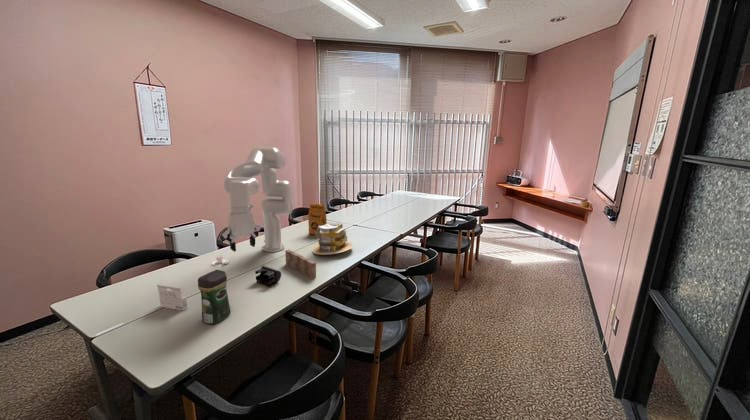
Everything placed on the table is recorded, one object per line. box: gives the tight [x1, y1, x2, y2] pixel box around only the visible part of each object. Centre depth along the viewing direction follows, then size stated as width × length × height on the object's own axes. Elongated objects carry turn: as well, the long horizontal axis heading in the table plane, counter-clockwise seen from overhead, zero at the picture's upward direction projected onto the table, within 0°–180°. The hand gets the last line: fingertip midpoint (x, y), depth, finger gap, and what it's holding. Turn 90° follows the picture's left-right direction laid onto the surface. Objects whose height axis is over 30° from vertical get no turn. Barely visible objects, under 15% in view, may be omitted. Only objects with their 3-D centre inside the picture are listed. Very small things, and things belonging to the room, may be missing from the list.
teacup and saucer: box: [211, 254, 230, 267], centre depth 166 cm, size 9×8×4 cm
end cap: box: [254, 265, 282, 288], centre depth 147 cm, size 10×7×7 cm
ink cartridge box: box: [156, 284, 188, 311], centre depth 123 cm, size 2×11×10 cm, turn 77°
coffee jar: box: [197, 269, 231, 325], centre depth 117 cm, size 10×8×19 cm
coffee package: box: [307, 202, 328, 236], centre depth 216 cm, size 10×12×22 cm
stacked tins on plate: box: [311, 222, 354, 256], centre depth 188 cm, size 25×25×17 cm
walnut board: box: [285, 249, 317, 280], centre depth 160 cm, size 24×2×8 cm, turn 48°
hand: (243, 248), depth 135 cm, fingers open, 7 cm apart
